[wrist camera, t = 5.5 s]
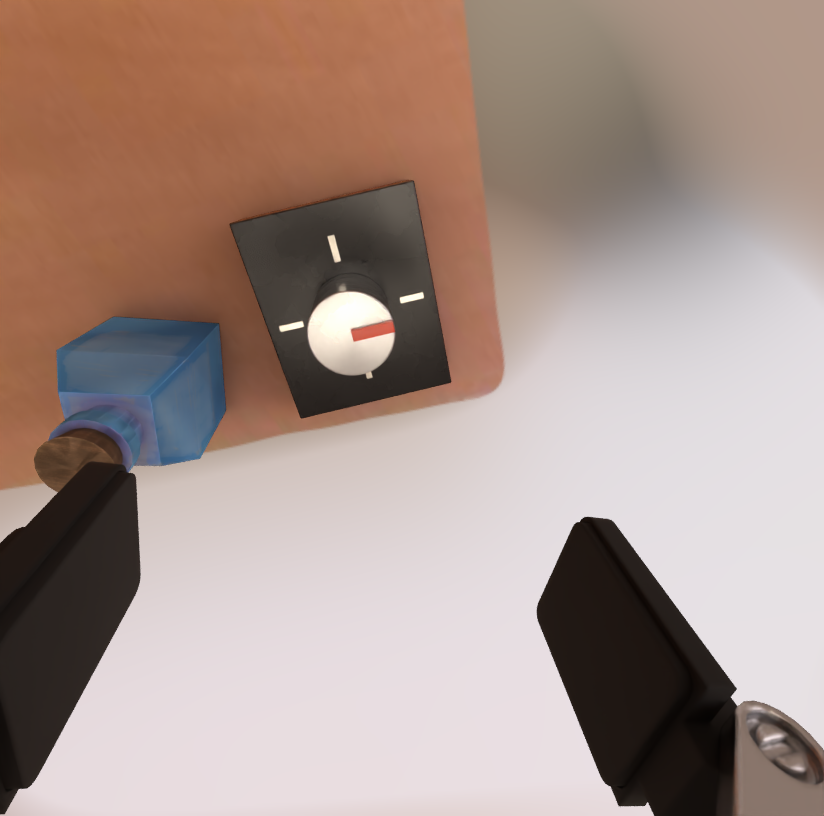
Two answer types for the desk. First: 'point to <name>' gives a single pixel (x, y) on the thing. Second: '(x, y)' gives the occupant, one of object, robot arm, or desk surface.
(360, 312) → the knob
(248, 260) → the panel
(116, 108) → the desk surface
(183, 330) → the perfume bottle
